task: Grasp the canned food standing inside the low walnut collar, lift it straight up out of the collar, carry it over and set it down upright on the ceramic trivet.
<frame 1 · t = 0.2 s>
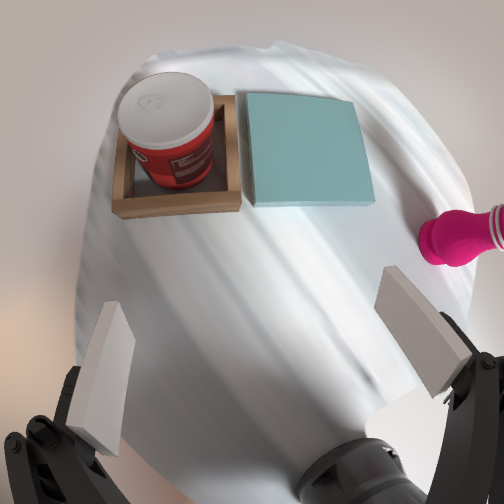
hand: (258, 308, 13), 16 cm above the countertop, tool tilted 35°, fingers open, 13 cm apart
pepper mill: (432, 242, 33), on the countertop
trivet: (307, 150, 31), on the countertop
canned food: (179, 161, 30), resting in collar
collar: (178, 160, 29), on the countertop
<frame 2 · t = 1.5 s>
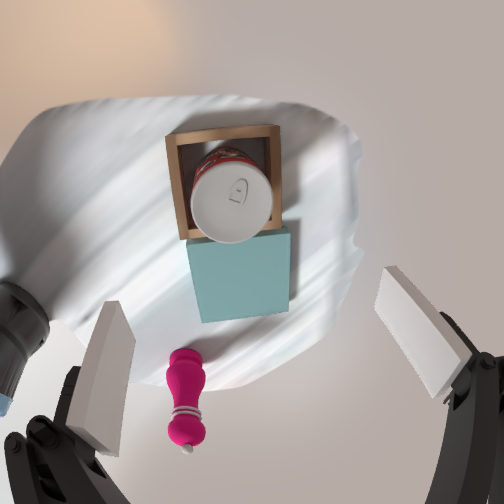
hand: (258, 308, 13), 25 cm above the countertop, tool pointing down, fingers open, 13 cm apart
pepper mill: (185, 358, 50), on the countertop
trivet: (240, 274, 42), on the countertop
canned food: (224, 176, 35), resting in collar
collar: (225, 176, 34), on the countertop
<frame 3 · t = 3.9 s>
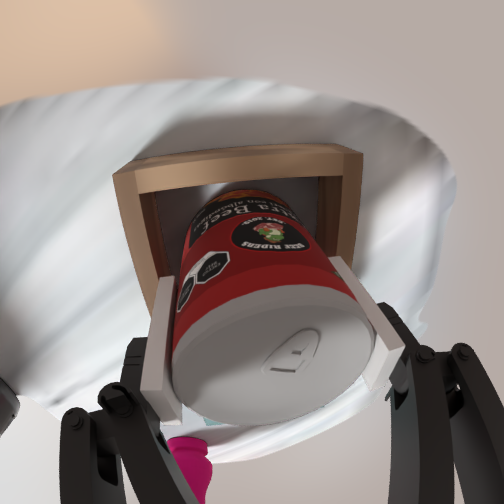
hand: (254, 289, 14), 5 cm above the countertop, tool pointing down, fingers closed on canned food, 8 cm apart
pepper mill: (186, 442, 34), on the countertop
canned food: (241, 241, 19), resting in collar, touching gripper
collar: (242, 242, 19), on the countertop
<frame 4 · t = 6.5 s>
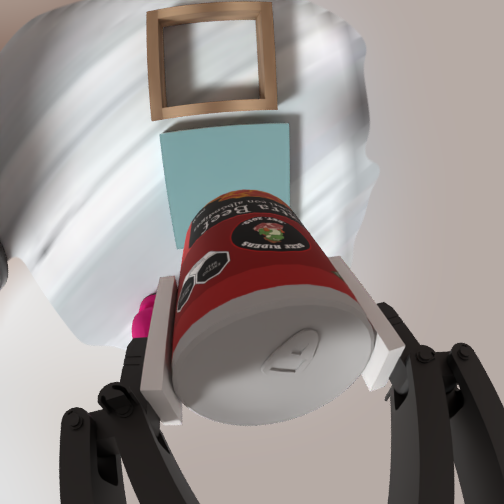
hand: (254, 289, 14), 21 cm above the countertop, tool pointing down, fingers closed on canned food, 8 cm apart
pepper mill: (160, 309, 40), on the countertop
trivet: (227, 183, 32), on the countertop
canned food: (241, 241, 19), point 16 cm above the countertop, touching gripper
collar: (210, 60, 25), on the countertop
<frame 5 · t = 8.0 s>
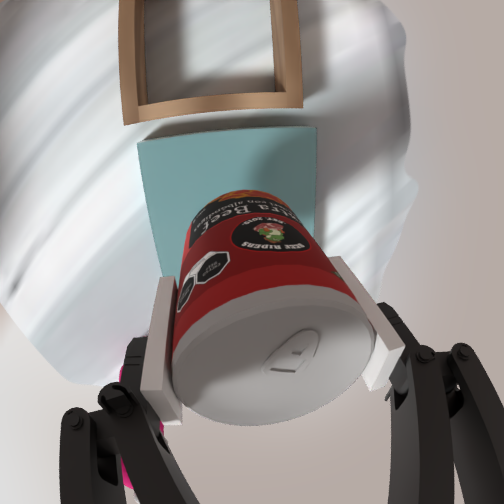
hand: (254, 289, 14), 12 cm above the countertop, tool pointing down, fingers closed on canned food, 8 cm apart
trivet: (232, 207, 25), on the countertop
canned food: (242, 241, 19), point 7 cm above the countertop, touching gripper
collar: (208, 40, 17), on the countertop
when the fingers open (9 cm above the countertop, at t = 9.0 s): canned food drops 2 cm, resting on trivet.
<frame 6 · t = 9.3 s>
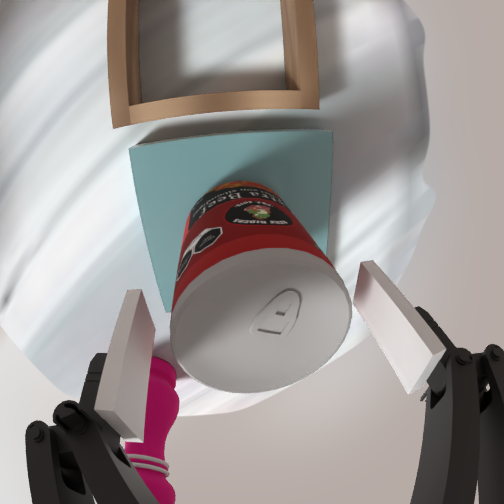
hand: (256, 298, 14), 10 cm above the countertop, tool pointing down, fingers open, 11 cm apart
pepper mill: (151, 369, 30), on the countertop
trivet: (236, 219, 22), on the countertop
canned food: (237, 229, 21), point 2 cm above the countertop, touching trivet
collar: (210, 31, 15), on the countertop
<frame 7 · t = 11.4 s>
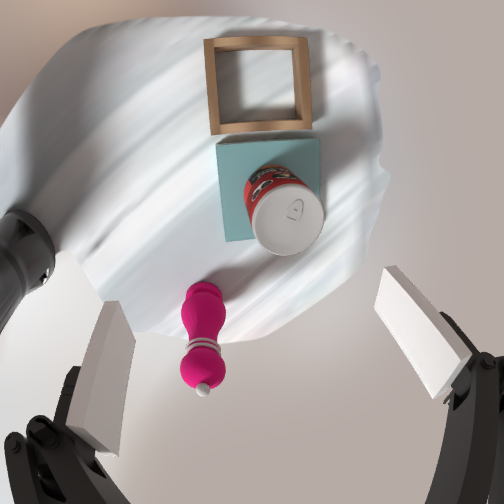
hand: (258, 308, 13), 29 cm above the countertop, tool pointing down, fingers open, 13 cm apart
pepper mill: (203, 295, 48), on the countertop
trivet: (269, 187, 39), on the countertop
canned food: (270, 190, 38), point 2 cm above the countertop, touching trivet
collar: (256, 84, 32), on the countertop
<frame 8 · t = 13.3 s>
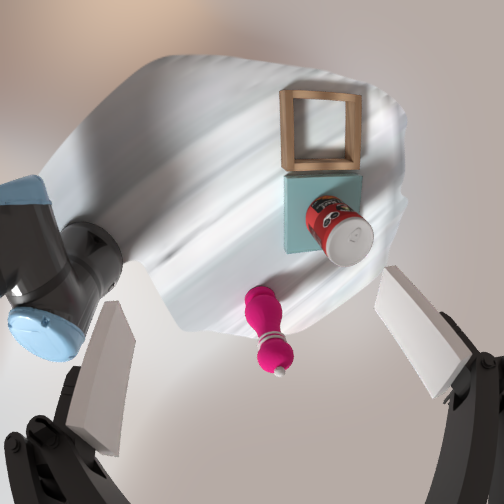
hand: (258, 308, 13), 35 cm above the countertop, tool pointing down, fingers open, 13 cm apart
pepper mill: (259, 297, 57), on the countertop
trivet: (321, 211, 50), on the countertop
canned food: (324, 214, 48), point 2 cm above the countertop, touching trivet
collar: (317, 129, 42), on the countertop
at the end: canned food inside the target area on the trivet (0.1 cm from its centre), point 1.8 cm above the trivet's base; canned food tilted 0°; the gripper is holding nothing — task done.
